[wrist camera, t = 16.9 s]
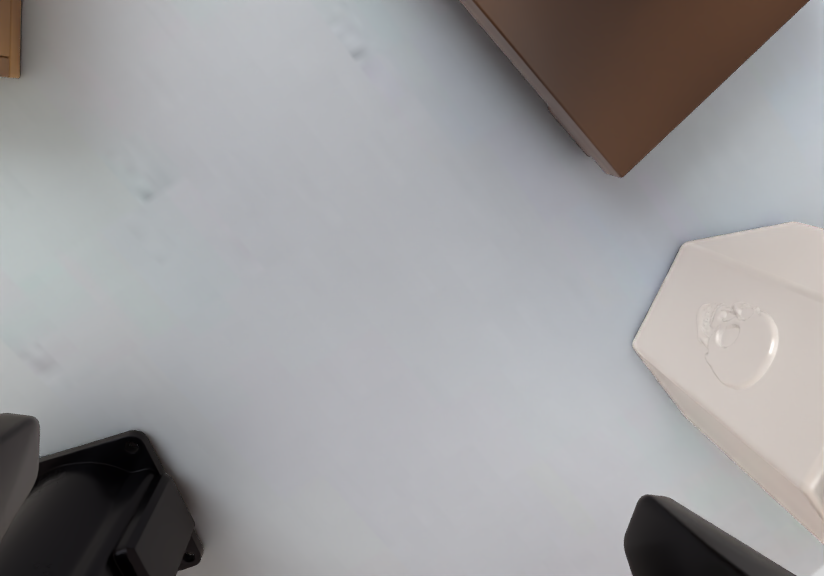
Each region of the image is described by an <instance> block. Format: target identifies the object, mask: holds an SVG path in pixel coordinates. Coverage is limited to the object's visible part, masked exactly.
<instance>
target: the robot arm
mask: <svg viewBox="0 0 824 576" xmlns="http://www.w3.org/2000/svg"><path fill="white" fill-rule="evenodd" d="M129 442H135V443H136V444H137V445H138V447H133V446H131V445H130V444H129ZM39 443H40V425H39V421H38V420H37V419H36V418H35V417H33V416H27V415H19V414H11V413H2V414H0V576H176V573H177V571H180V570H183V569H186V568H190V567H193V566H195V565H197V564H198V563H199V562H200V560H201V557H202V555H203V551H204V549H203V546H202V544H201V542H200V540H199V538H198V536H197V534H196V532H195V530H194V526H195V523H194V521H193V519H192V517H191V515H190V513H189V511H188V509H187V507H186V505H185V503H184V501H183V499H182V497H181V495H180V493H179V491H178V489H177V487H176V485H175V483H174V481H173V479H172V477H170V476H169V475H168V474H166V473H165V471H164V469H163V467H162V465H161V463H160V461H159V459H158V457H157V455H156V453H155V451H154V449H153V447H152V445H151V443H150V441H149V439H148V437H147V436H146V435H145V434H144V433H142V432H141V431H137V430H132V431H127V432H124V433H121V434H117V435H114V436H111V437H108V438H104V439H101V440H98V441H94V442H91V443H88V444H84V445H81V446H78V447H74V448H71V449H68V450H64V451H61V452H58V453H54V454H51V455H48V456H45V457H41V458H39ZM624 549H625V554H626V557H627V560H628V563H629V566H630V569H631V572H632V575H633V576H796V575H794V574H793V573H791V572H789V571H788V570H786V569H785V568H783V567H781V566H780V565H778V564H776V563H775V562H773V561H772V560H770V559H768V558H767V557H765V556H763V555H762V554H760V553H759V552H757V551H755V550H754V549H752V548H750V547H749V546H747V545H746V544H744V543H742V542H741V541H739V540H737V539H736V538H734V537H733V536H731V535H729V534H728V533H726V532H724V531H723V530H721V529H720V528H718V527H716V526H715V525H713V524H712V523H710V522H708V521H707V520H705V519H703V518H702V517H700V516H699V515H697V514H695V513H694V512H692V511H690V510H689V509H687V508H686V507H684V506H682V505H681V504H679V503H677V502H676V501H674V500H673V499H671V498H668V497H665V496H657V495H648V494H647V495H644V496H642V497H641V498H640V499H639V500H638V502H637V505H636V507H635V510H634V513H633V515H632V518H631V520H630V523H629V526H628V528H627V531H626V533H625V537H624ZM186 552H191V553H193V554H194V555H189V554H187V553H186Z"/></svg>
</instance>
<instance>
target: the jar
mask: <svg viewBox="0 0 824 576" xmlns="http://www.w3.org/2000/svg"><path fill="white" fill-rule="evenodd" d="M632 346H633V349H634V350H635V352H636V353H637V354H638V356H639V357H640V358H641V359H642V361H643V362H644V363H645V365H646V366H647V367H648V369H649V370H650V371H651V373H652V374H653V375H654V377H655V378H656V379H657V381H658V382H659V383H660V385H661V386H662V387H663V389H664V390H665V391H666V393H667V394H668V395H669V397H670V398H671V399H672V400H673V402H674V403H675V404H676V406H677V407H678V408H679V410H680V411H681V412H682V414H683V415H684V416H685V418H686V419H688V420H689V421H690V422H691V423H692V424H693V425H694V426H695V427H696V428H697V429H698V430H700V431H701V432H702V433H703V434H704V435H705V436H706V437H707V438H708V439H709V440H710V441H711V442H713V443H714V444H715V445H716V446H717V447H718V448H719V449H720V450H721V451H722V452H723V453H724V454H726V455H727V456H728V457H729V458H730V459H731V460H732V461H733V462H734V463H735V464H736V465H738V466H739V467H740V468H741V469H742V470H743V471H744V472H745V473H746V474H747V475H748V476H749V477H751V478H752V479H753V480H754V481H755V482H756V483H757V484H758V485H759V486H760V487H761V488H763V489H764V490H765V491H766V492H767V493H768V494H769V495H770V496H771V497H772V498H773V499H774V500H776V501H777V502H778V503H779V504H780V505H781V506H782V507H783V508H784V509H785V510H786V511H787V512H789V513H790V514H791V515H792V516H793V517H794V518H795V519H796V520H797V521H798V522H799V523H801V524H802V525H803V526H804V527H805V528H806V529H807V530H808V531H809V532H810V533H811V534H812V535H814V536H815V537H816V538H817V539H818V540H819V541H820V542H821V543H822V544H823V545H824V229H823V228H819V227H815V226H811V225H807V224H803V223H799V222H787V223H782V224H777V225H771V226H766V227H761V228H756V229H750V230H745V231H740V232H735V233H729V234H724V235H719V236H714V237H708V238H703V239H698V240H693V241H687V242H685V243H684V244H683V245H682V246H681V248H680V250H679V252H678V254H677V256H676V258H675V260H674V262H673V264H672V266H671V268H670V270H669V272H668V274H667V276H666V278H665V280H664V281H663V283H662V285H661V287H660V289H659V291H658V293H657V295H656V297H655V299H654V301H653V303H652V305H651V307H650V309H649V311H648V313H647V315H646V317H645V319H644V321H643V323H642V325H641V327H640V329H639V331H638V333H637V335H636V336H635V338H634V340H633V343H632Z"/></svg>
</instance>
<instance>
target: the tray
mask: <svg viewBox="0 0 824 576" xmlns="http://www.w3.org/2000/svg"><path fill="white" fill-rule="evenodd" d="M20 41H21V0H0V77H8V78H19V77H20Z"/></svg>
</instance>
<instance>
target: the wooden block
mask: <svg viewBox="0 0 824 576" xmlns="http://www.w3.org/2000/svg"><path fill="white" fill-rule="evenodd" d="M459 1H460V2H461V3H462V5H463V6H464V7H465V8H466V9H467V11H468V12H469V13H470V14H471V15H472V16H473V18H474V19H475V20H476V21H477V22H478V24H479V25H480V26H481V27H482V28H483V29H484V31H485V32H486V33H487V34H488V35H489V36H490V38H491V39H492V40H493V41H494V42H495V44H496V45H497V46H498V47H499V48H500V49H501V51H502V52H503V53H504V54H505V55H506V57H507V58H508V59H509V60H510V61H511V62H512V64H513V65H514V66H515V67H516V68H517V70H518V71H519V72H520V73H521V74H522V75H523V77H524V78H525V79H526V80H527V81H528V83H529V84H530V85H531V86H532V87H533V88H534V90H535V91H536V92H537V93H538V94H539V96H540V97H541V98H542V99H543V100H544V101H545V103H546V104H547V105H548V110H549V112H550V113H551V114H552V115H553V116H554V117H555V119H556V120H557V121H558V122H559V123H560V125H561V126H562V127H563V128H564V129H565V130H566V132H567V133H568V134H569V135H570V136H571V137H572V139H573V140H574V141H575V142H576V143H577V145H578V146H579V147H580V148H581V149H582V150H583V152H584V153H585V154H586V155H587V156H589V157H592V158H593V159H594V160H595V162H596V163H597V164H598V165H599V166H600V168H601V169H602V170H603V171H604V172H605V173H606V174H608V175H612V176H616V177H620V178H622V177H624V176H625V175H626V174H627V173H628V172H629V171H630V170H631V169H632V168H633V167H634V166H635V165H637V164H638V163H639V162H640V161H641V160H642V159H643V158H644V157H645V156H646V155H647V154H648V153H649V152H650V151H651V150H652V149H653V148H654V147H656V146H657V145H658V144H659V143H660V142H661V141H662V140H663V139H664V138H665V137H666V136H667V135H668V134H669V133H670V132H671V131H672V130H673V129H675V128H676V127H677V126H678V125H679V124H680V123H681V122H682V121H683V120H684V119H685V118H686V117H687V116H688V115H689V114H690V113H691V112H692V111H693V110H695V109H696V108H697V107H698V106H699V105H700V104H701V103H702V102H703V101H704V100H705V99H706V98H707V97H708V96H709V95H710V94H711V93H712V92H714V91H715V90H716V89H717V88H718V87H719V86H720V85H721V84H722V83H723V82H724V81H725V80H726V79H727V78H728V77H729V76H730V75H731V74H733V73H734V72H735V71H736V70H737V69H738V68H739V67H740V66H741V65H742V64H743V63H744V62H745V61H746V60H747V59H748V58H749V57H750V56H752V55H753V54H754V53H755V52H756V51H757V50H758V49H759V48H760V47H761V46H762V45H763V44H764V43H765V42H766V41H767V40H768V39H769V38H770V37H772V36H773V35H774V34H775V33H776V32H777V31H778V30H779V29H780V28H781V27H782V26H783V25H784V24H785V23H786V22H787V21H788V20H789V19H791V18H792V17H793V16H794V15H795V14H796V13H797V12H798V11H799V10H800V9H801V8H802V7H803V6H804V5H805V4H806V3H807V2H808V1H810V0H459Z"/></svg>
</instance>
